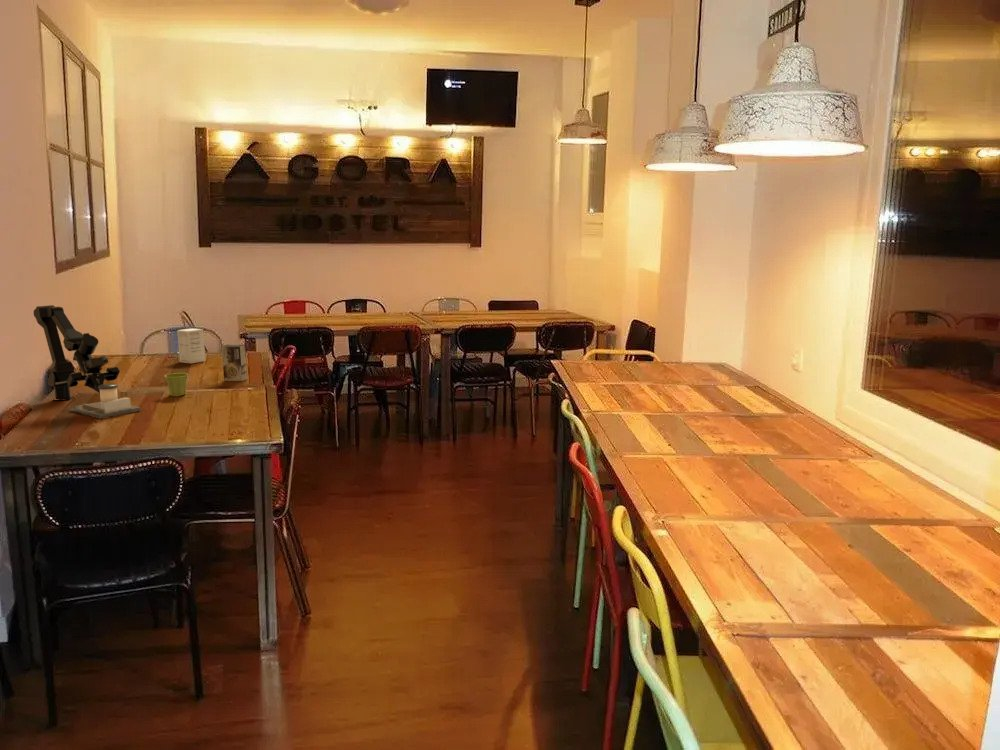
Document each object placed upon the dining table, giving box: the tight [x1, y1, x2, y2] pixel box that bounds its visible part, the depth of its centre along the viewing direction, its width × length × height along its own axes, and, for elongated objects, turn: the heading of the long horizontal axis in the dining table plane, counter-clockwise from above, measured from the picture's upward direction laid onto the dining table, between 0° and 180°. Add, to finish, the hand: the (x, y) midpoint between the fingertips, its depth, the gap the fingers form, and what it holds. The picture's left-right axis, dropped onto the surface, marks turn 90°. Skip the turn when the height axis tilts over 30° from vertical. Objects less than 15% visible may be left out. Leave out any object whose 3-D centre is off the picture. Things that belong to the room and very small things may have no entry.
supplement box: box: [176, 327, 207, 364], centre depth 424 cm, size 10×9×17 cm
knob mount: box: [70, 397, 141, 420], centre depth 318 cm, size 22×16×6 cm
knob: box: [98, 383, 119, 402], centre depth 315 cm, size 7×7×9 cm
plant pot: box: [164, 372, 189, 397], centre depth 346 cm, size 9×9×9 cm
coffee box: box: [220, 344, 248, 382], centre depth 377 cm, size 9×6×16 cm
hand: (102, 393), depth 317 cm, fingers closed
